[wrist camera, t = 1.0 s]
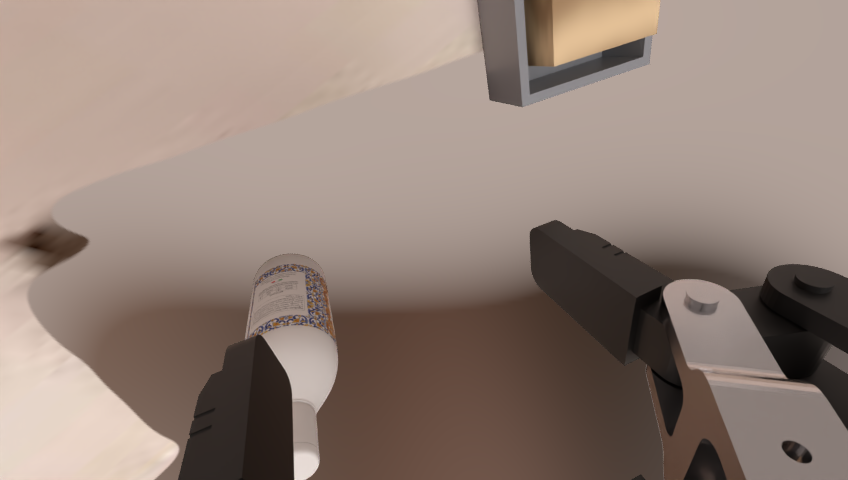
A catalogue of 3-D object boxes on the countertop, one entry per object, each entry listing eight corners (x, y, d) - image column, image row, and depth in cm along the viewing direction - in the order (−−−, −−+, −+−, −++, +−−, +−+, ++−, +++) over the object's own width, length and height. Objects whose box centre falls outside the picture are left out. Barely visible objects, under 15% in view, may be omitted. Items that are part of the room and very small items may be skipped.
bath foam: (317, 310, 39) (338, 499, 22) (248, 304, 36) (215, 519, 19) (331, 256, 37) (368, 423, 20) (260, 246, 34) (233, 432, 17)
